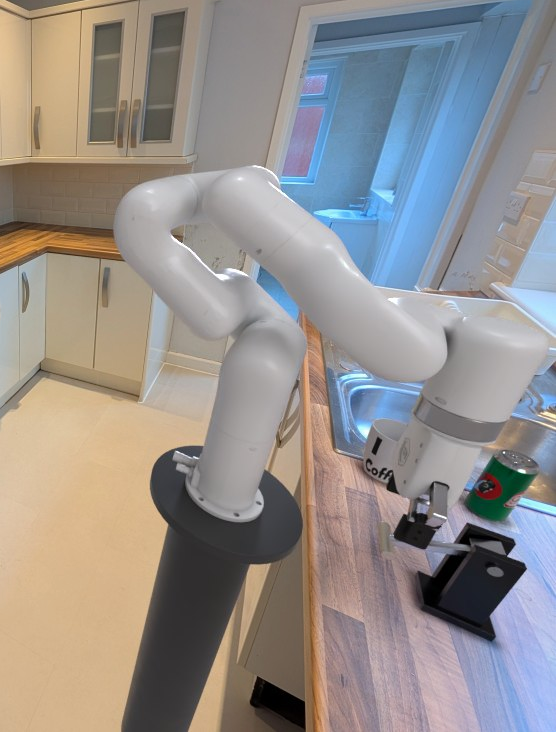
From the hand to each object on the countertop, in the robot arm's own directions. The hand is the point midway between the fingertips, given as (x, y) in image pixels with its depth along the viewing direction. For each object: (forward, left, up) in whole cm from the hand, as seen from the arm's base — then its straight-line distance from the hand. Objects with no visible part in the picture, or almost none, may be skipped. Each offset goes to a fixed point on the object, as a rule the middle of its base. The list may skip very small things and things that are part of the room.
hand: (403, 516), depth 59 cm
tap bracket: (+9, 0, -12) cm, 15 cm away
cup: (+3, +26, -12) cm, 29 cm away
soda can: (+17, +25, -12) cm, 33 cm away
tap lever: (+5, 0, -4) cm, 6 cm away
